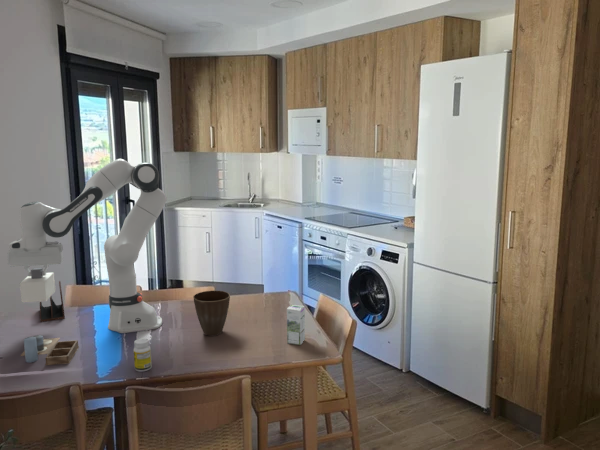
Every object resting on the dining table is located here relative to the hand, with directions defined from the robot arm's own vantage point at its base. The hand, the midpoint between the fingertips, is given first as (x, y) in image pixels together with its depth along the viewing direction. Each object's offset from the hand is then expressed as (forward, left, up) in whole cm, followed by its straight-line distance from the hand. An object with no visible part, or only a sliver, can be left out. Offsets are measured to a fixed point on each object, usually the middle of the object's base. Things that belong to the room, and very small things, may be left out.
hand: (37, 275), depth 212 cm
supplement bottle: (-44, +42, -25) cm, 66 cm away
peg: (-4, +29, -25) cm, 39 cm away
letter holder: (+3, -27, -26) cm, 37 cm away
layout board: (-4, +16, -25) cm, 30 cm away
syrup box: (-101, +29, -25) cm, 108 cm away
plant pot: (-69, +12, -25) cm, 75 cm away
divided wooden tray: (-14, +27, -25) cm, 40 cm away
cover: (0, 0, -9) cm, 9 cm away
